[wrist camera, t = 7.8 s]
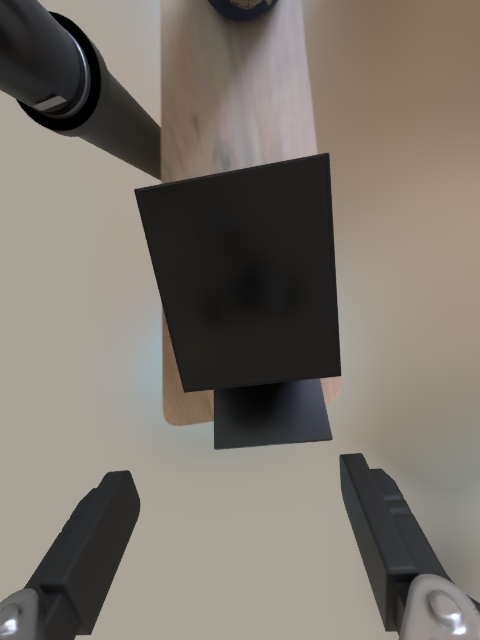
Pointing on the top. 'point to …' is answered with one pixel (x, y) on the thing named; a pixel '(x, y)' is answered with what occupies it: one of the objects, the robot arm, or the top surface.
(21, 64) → the robot arm
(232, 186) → the oven
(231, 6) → the canister
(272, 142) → the top surface
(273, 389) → the oven door
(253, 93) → the top surface
